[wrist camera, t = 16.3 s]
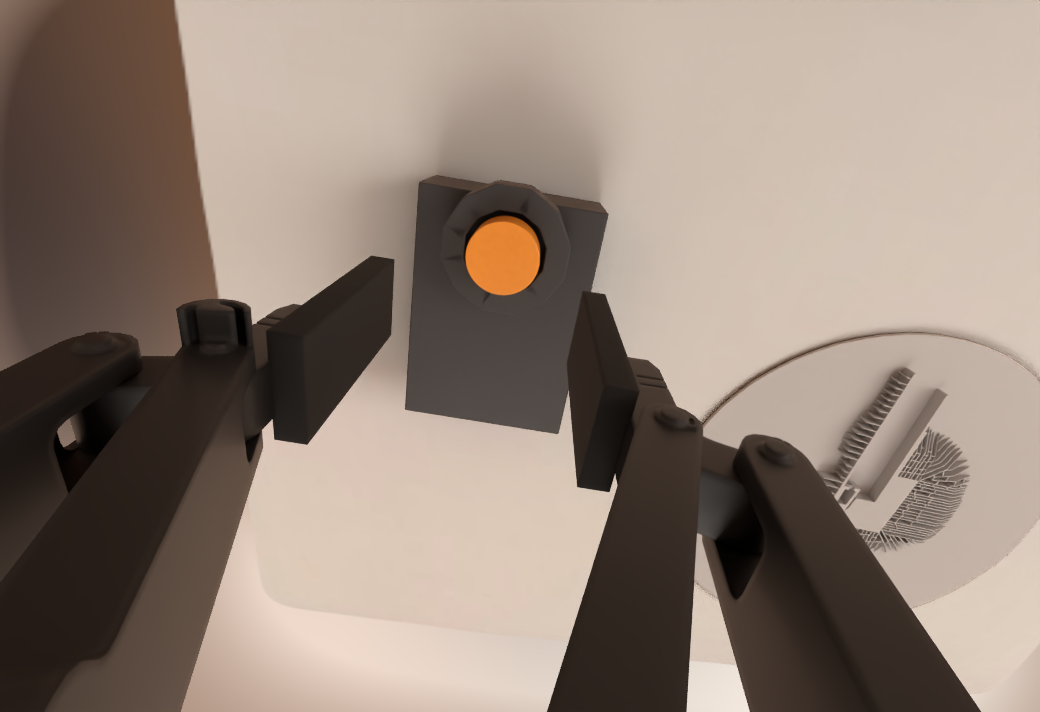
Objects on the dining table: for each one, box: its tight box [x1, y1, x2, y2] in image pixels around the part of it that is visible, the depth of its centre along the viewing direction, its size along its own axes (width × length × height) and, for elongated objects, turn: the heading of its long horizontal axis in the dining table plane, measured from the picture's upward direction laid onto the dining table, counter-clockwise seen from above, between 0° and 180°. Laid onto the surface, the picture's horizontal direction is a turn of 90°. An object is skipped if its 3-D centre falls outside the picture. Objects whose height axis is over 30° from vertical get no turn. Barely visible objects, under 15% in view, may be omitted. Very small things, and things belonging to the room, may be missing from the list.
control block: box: [405, 175, 608, 434], centre depth 29 cm, size 15×10×6 cm
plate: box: [694, 333, 1040, 609], centre depth 37 cm, size 28×28×1 cm
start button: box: [465, 216, 540, 295], centre depth 24 cm, size 4×4×2 cm
